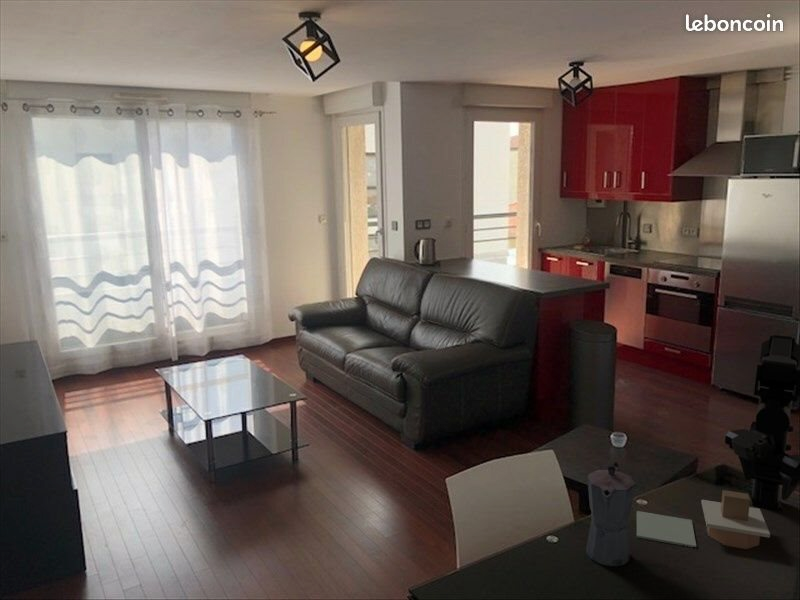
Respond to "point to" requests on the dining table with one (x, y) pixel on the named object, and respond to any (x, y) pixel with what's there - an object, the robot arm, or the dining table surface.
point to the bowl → (734, 538)
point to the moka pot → (609, 516)
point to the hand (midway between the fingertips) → (765, 489)
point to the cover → (735, 515)
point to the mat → (665, 529)
